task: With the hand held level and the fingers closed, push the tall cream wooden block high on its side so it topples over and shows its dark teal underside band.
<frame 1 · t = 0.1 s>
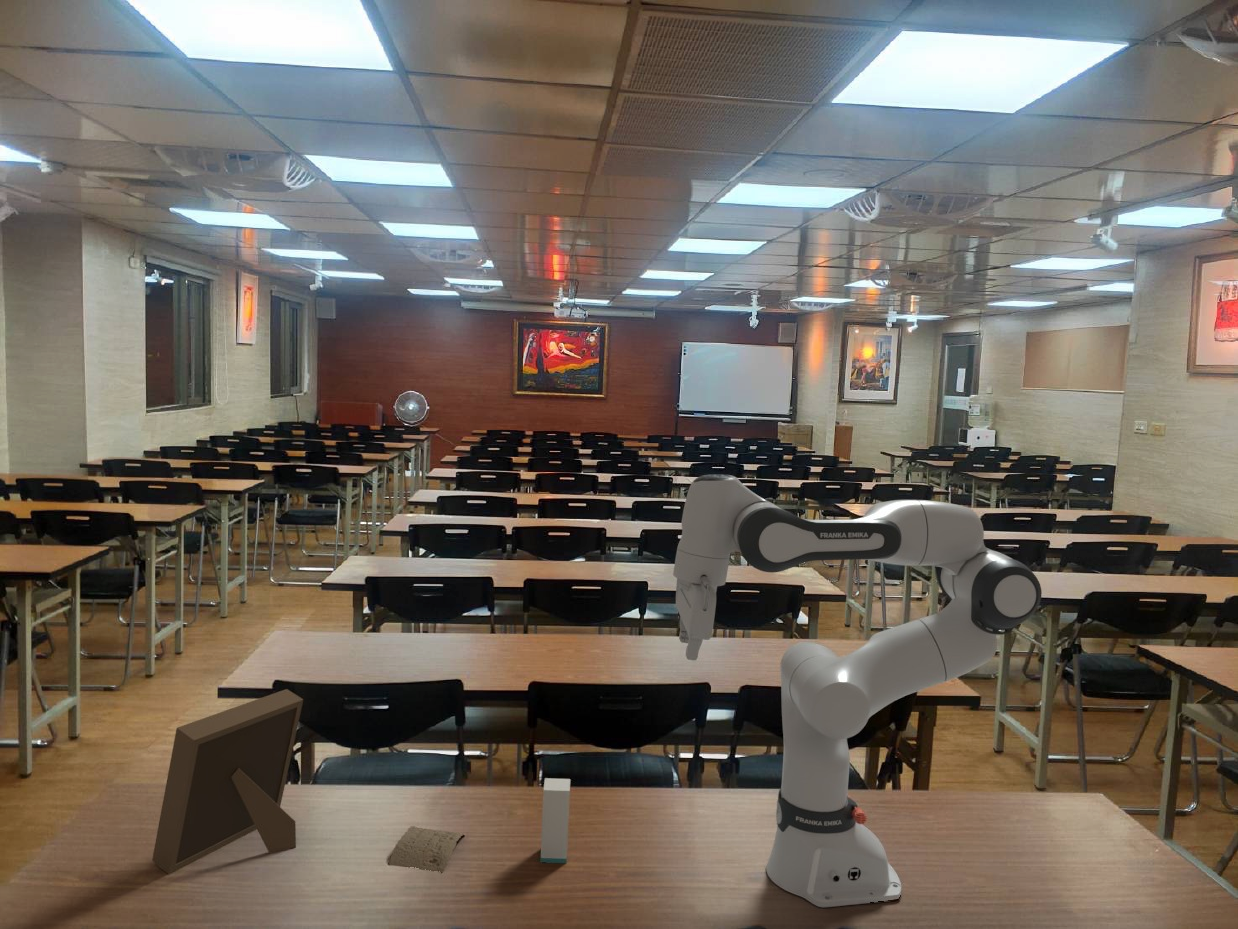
hand: (687, 650, 144), 39 cm above the table, tool pointing down, fingers open, 8 cm apart
clay tablet: (428, 853, 151), on the table
block: (553, 855, 151), on the table
photo frame: (239, 851, 148), on the table
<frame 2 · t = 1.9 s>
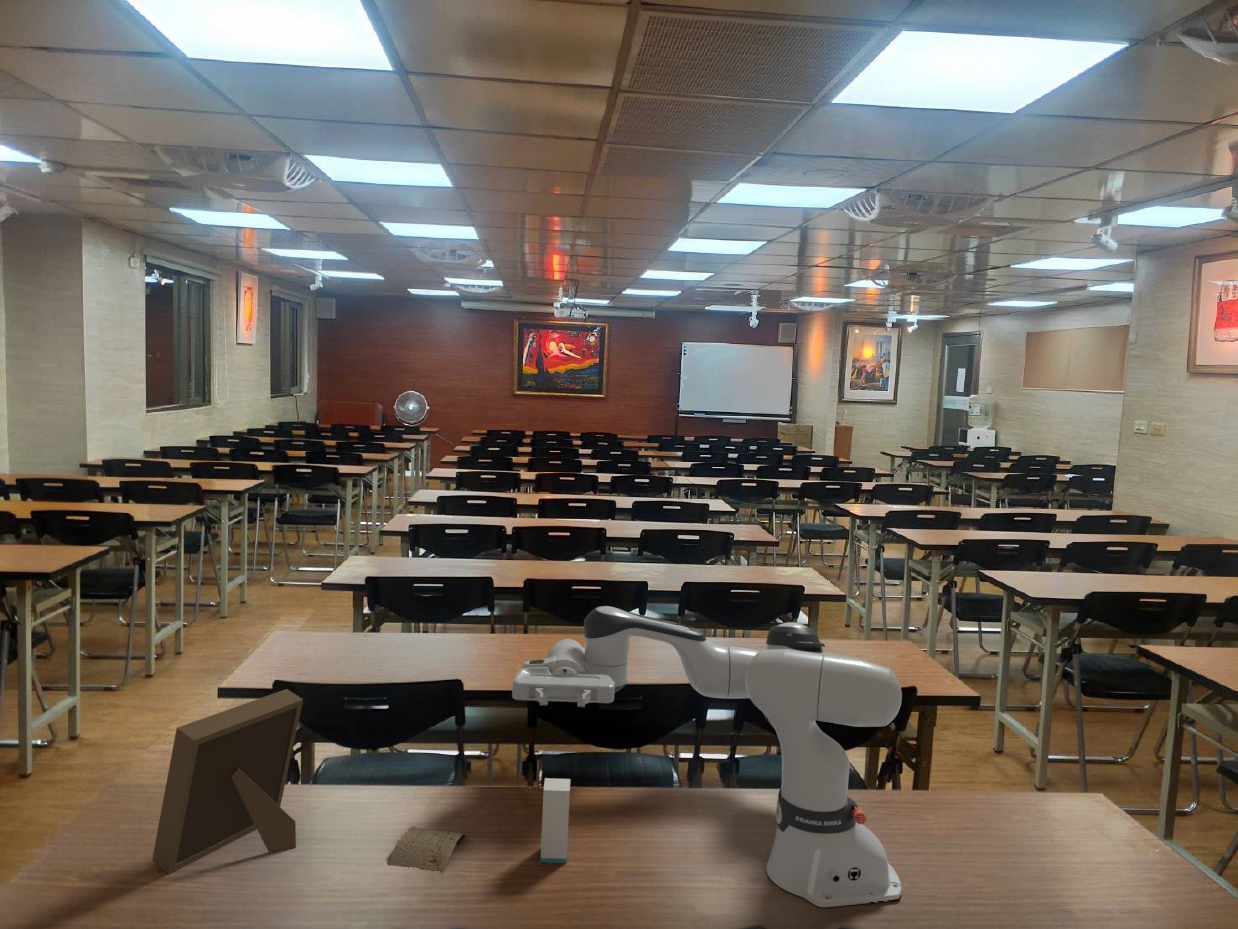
hand: (562, 702, 164), 22 cm above the table, tool horizontal, fingers open, 6 cm apart
nothing on the table moved.
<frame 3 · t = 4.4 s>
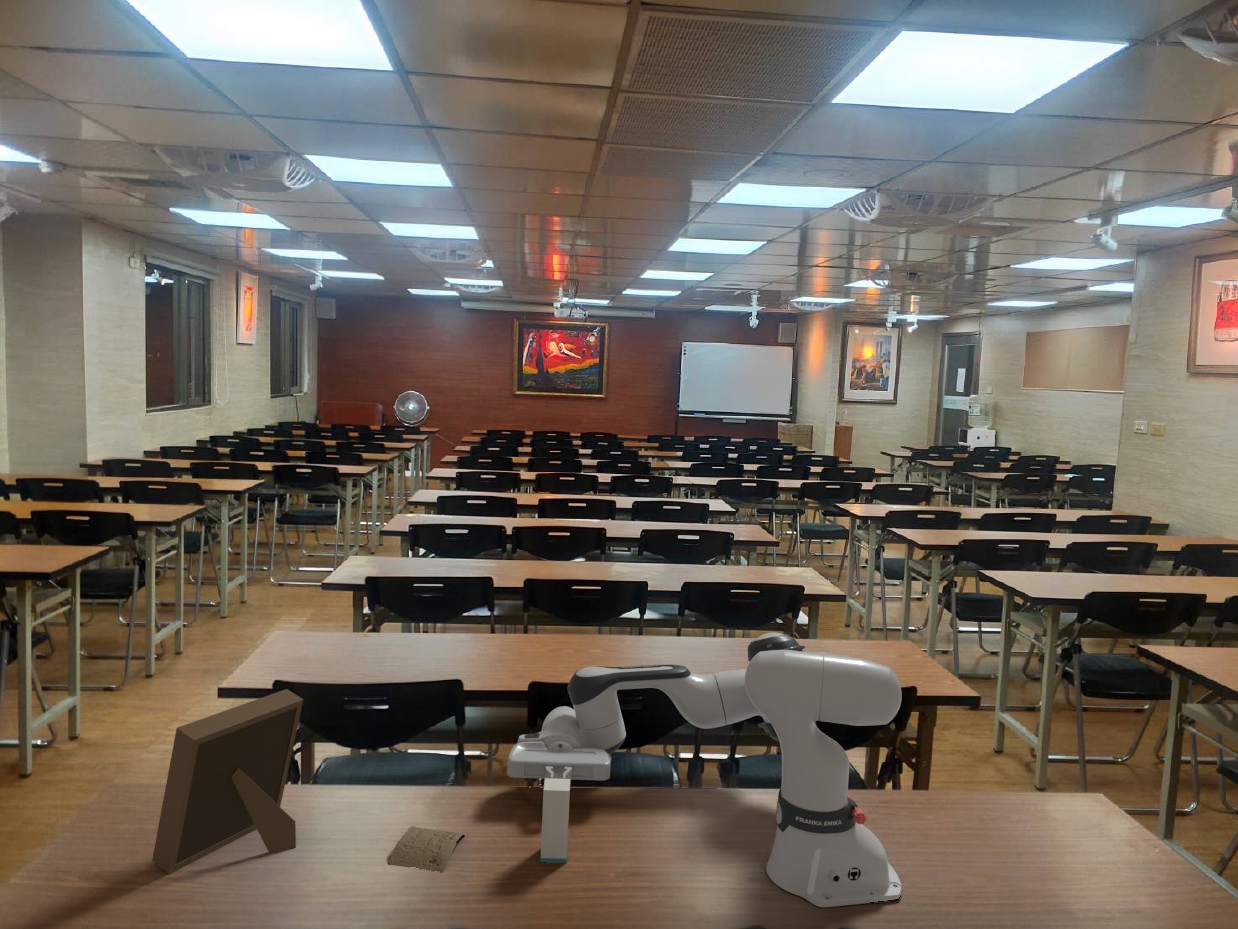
hand: (557, 782, 163), 7 cm above the table, tool horizontal, fingers closed
nothing on the table moved.
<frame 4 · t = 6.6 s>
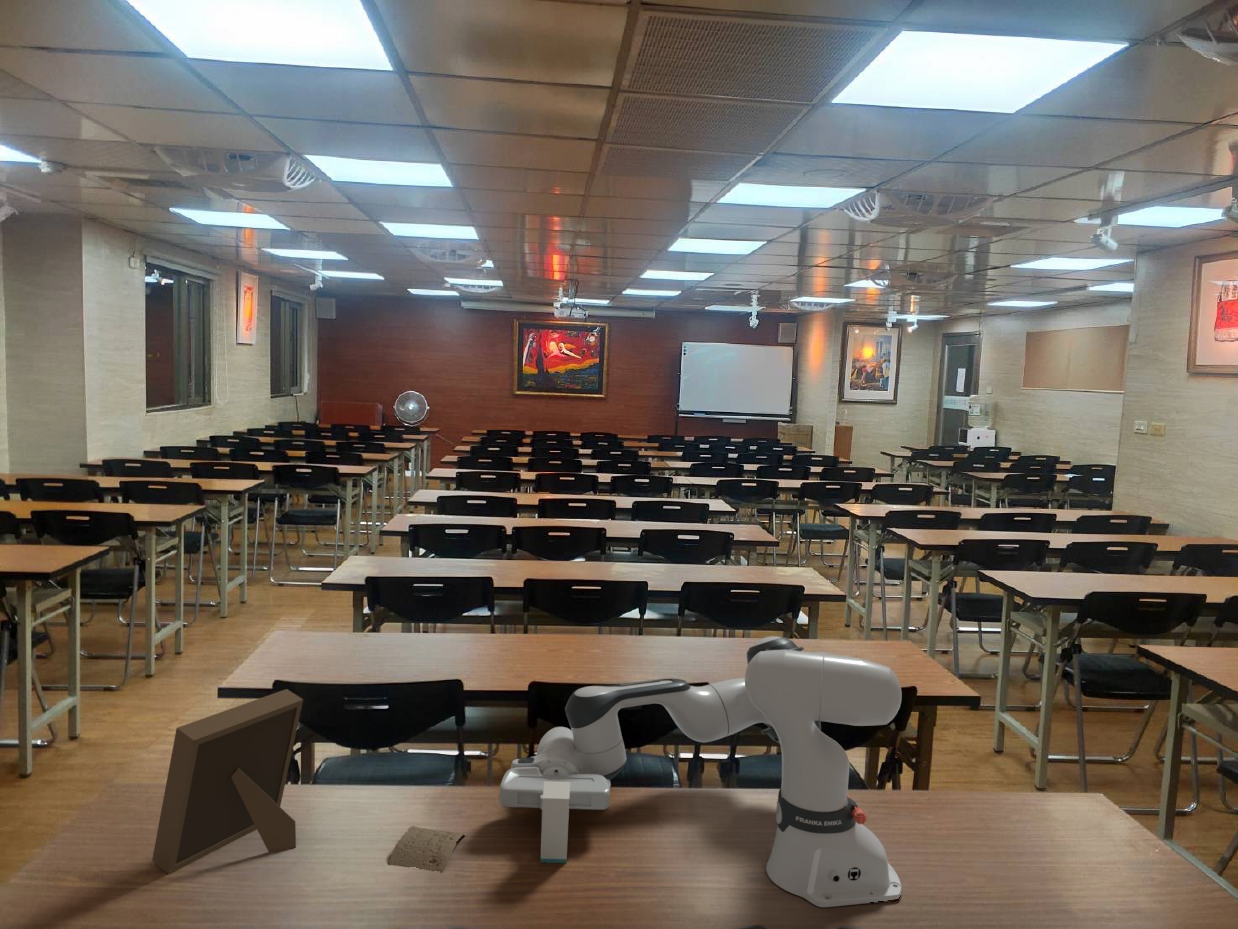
hand: (553, 812, 152), 7 cm above the table, tool horizontal, fingers closed
block: (554, 853, 151), on the table, tilted 11°, touching gripper
everything else where it was.
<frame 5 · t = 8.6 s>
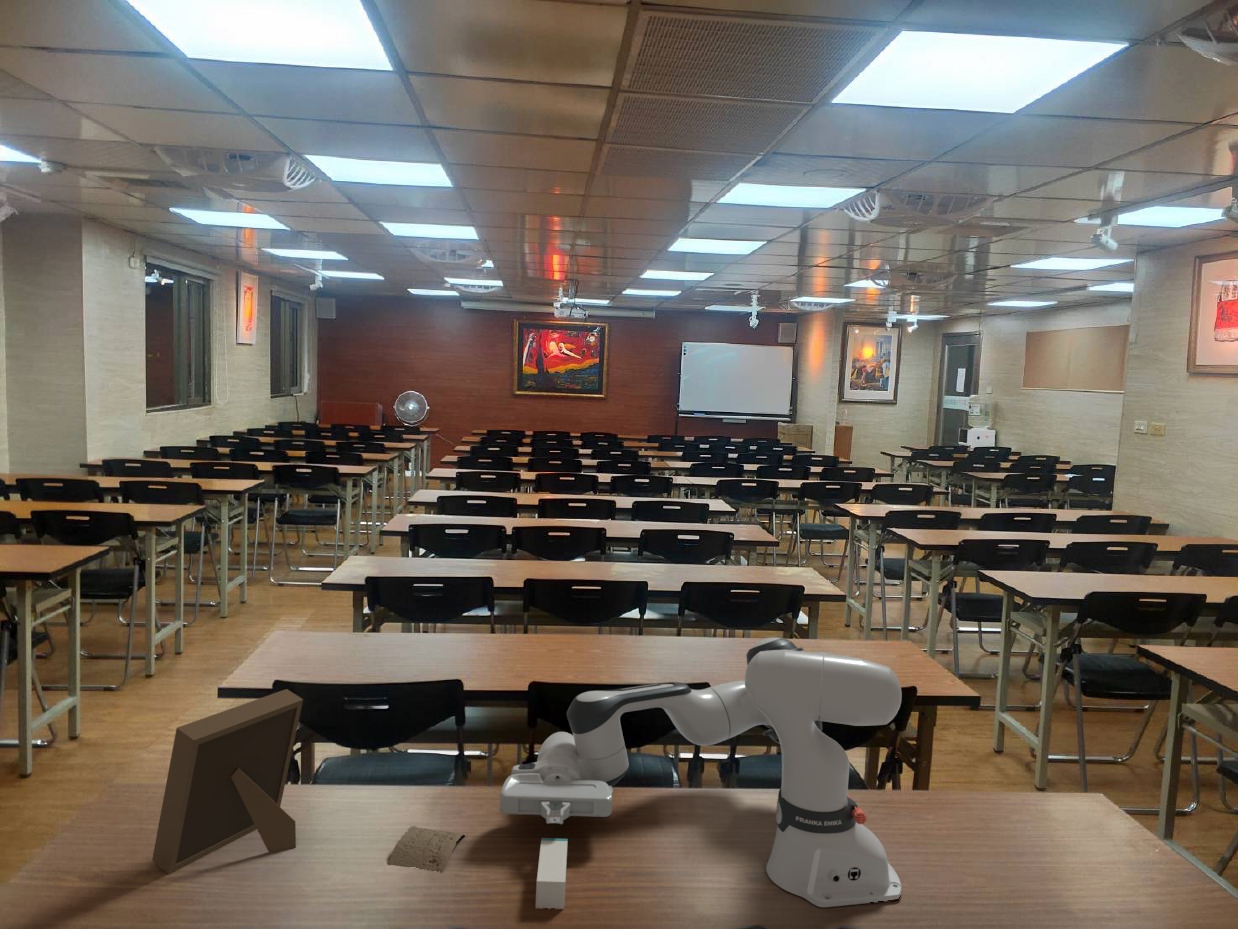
hand: (554, 820, 149), 7 cm above the table, tool horizontal, fingers closed
block: (554, 851, 149), point 2 cm above the table, tilted 90°
everything else where it was.
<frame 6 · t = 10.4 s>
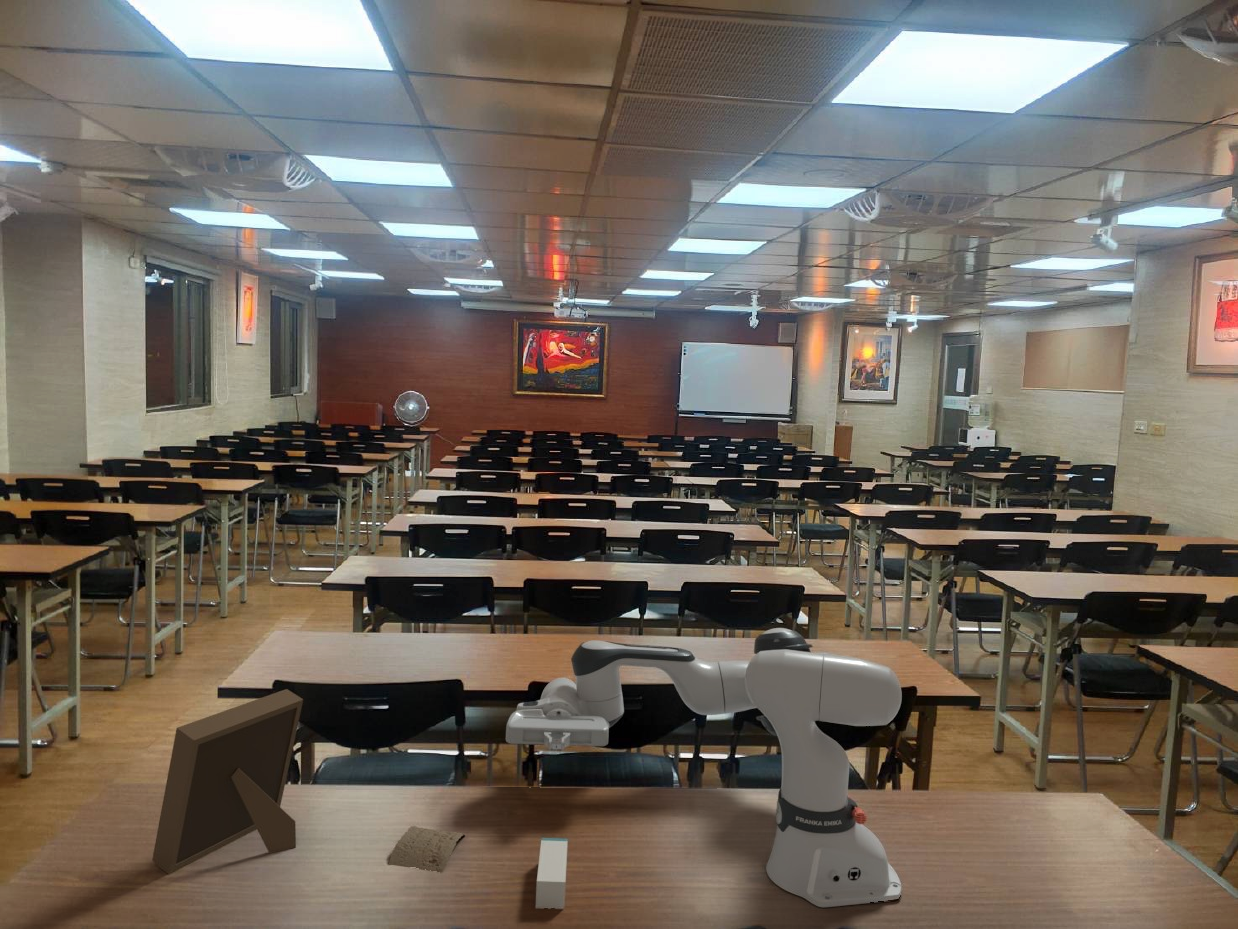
hand: (556, 746, 164), 14 cm above the table, tool horizontal, fingers closed
nothing on the table moved.
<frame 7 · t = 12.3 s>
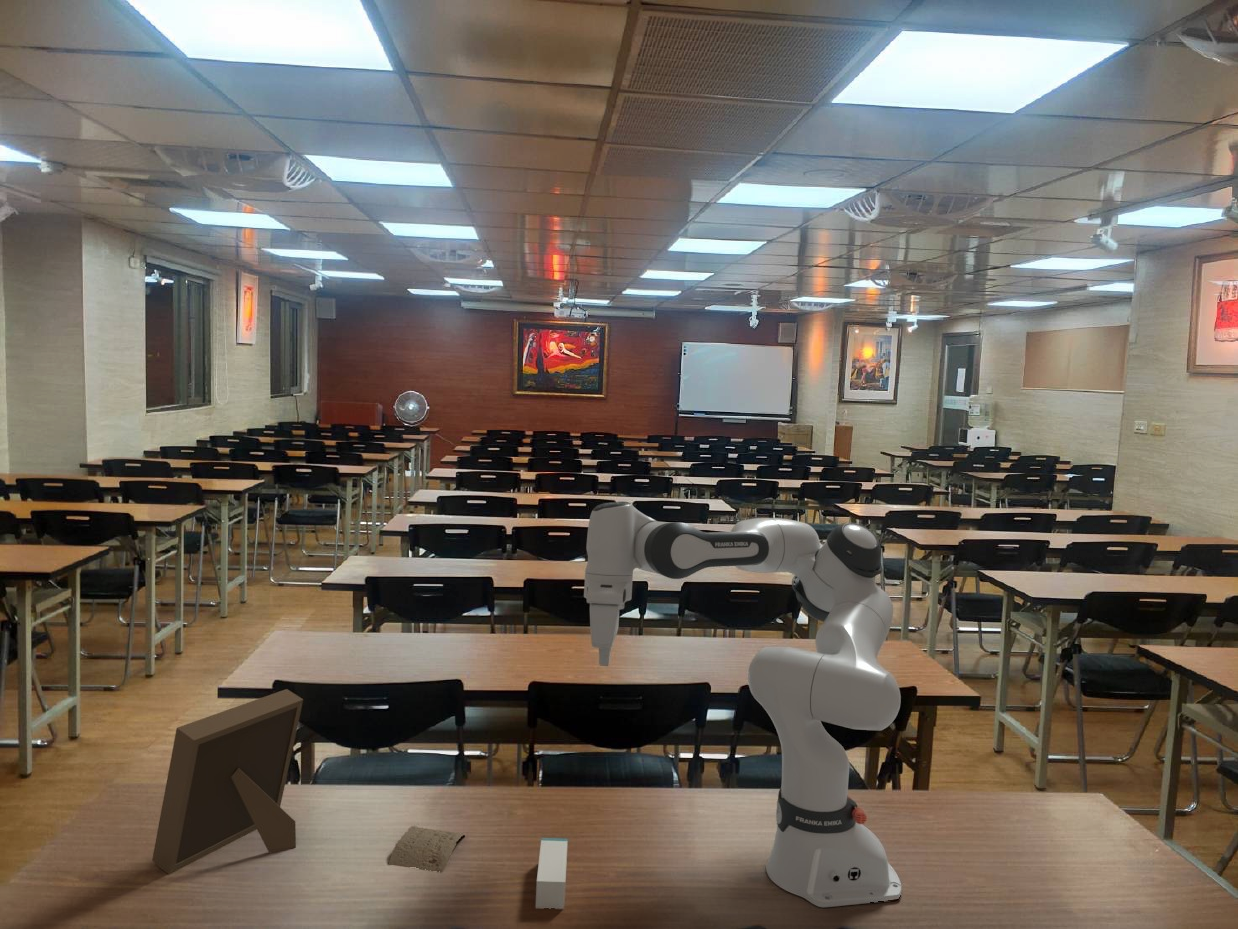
hand: (604, 664, 158), 31 cm above the table, tool pointing down, fingers closed
nothing on the table moved.
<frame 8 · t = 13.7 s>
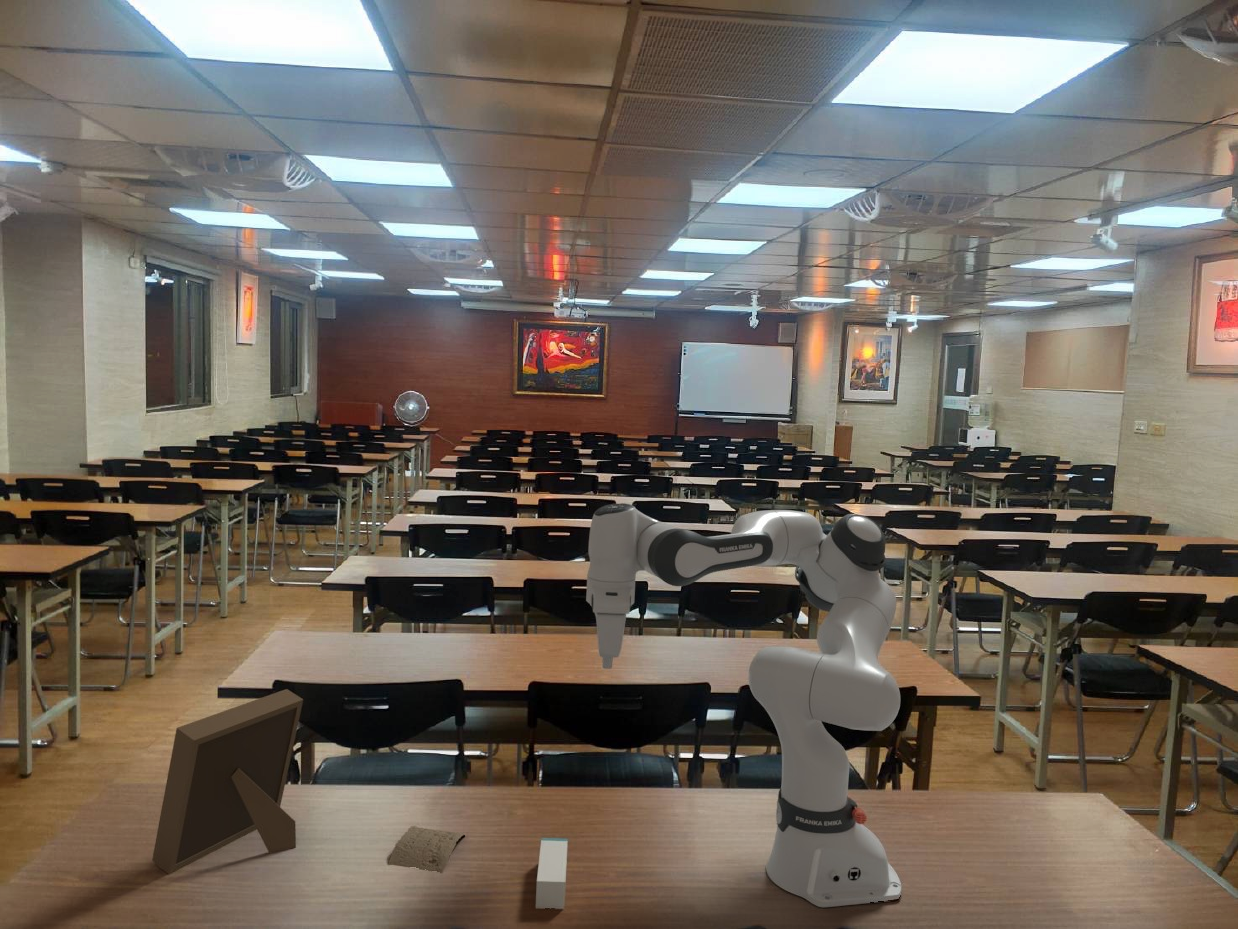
hand: (607, 666, 159), 31 cm above the table, tool pointing down, fingers closed
nothing on the table moved.
at the end: block tilted 90°; block inside the target area (0.7 cm from its centre), point 2.2 cm above the table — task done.
